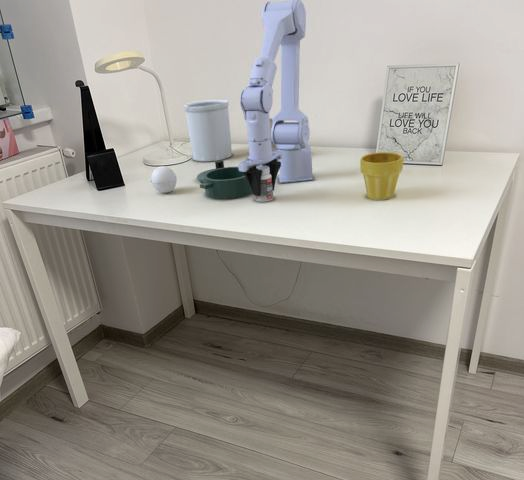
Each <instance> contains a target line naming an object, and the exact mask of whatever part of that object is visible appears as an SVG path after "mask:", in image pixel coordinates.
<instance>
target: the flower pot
mask: <svg viewBox="0 0 524 480" xmlns="http://www.w3.org/2000/svg"><path fill="white" fill-rule="evenodd" d="M359 163H360V165H359V167H360V168H359V169H360V173H361V174H362V176H363V181H364V185H365V191H366V196H367V198H368V199H370V200H373V201H384V200H389V199H392V198H393V197H394V195H395V192H396V189H397V185H398V181H399V178H400V177H399V176H400V174H401V173H402V171H403V167H404V156H403V154H400V153H398V152H393V151H380V152H379V151H378V152H372V153H368V154H365V155H363V156H361V158H360V161H359Z"/></svg>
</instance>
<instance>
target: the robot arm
mask: <svg viewBox="0 0 524 480" xmlns="http://www.w3.org/2000/svg"><path fill="white" fill-rule="evenodd" d="M261 21H262V27H263V30H264V33H263V38H262V45H261V51H260V55H259V57H257V58H255V59H254V63H253V65H252V69H251V72H250V75H249V76H250V77H249V80H248V83H247V86H246V87H245V88H244V89H242V91H241V93H240V100H239V103H240V108H241V111H242V114H243V119H244V121H246V131H247V139H248V140H247V141H248V151H249V155H248V156H247V158H246V159H244V160H242V161H241V162H239V163H237V167H239V171H241V172H242V173H243V174H244V175H245V177H246V178H247V180H248V182H249V184H250V187H251V190H252V192H253V193H252V196H254V197H255V196H260V195H261V175H262V170H258V168H256V167H257V166H269V169H270V173H269V174H271V176H272V190H273V192H274V191H275V187H276V181H277V178H278V182H279V183H280V184H285V183H295V182H305V181H306V182H307V181H313V180H314V179H313V178H314V177H313V155H312V148H311V145H307V144H308V143H309V140H310V135H311V131H310V126H309V125H310V124H309V117H308V116H307V115H306V114H305V113H304V112H303V111H302V110H301V109H300V108H299V106H300V64H301V63H300V61H301V59H300V58H301V55H300V54H301V52H300V51H301V40H303V39H304V38H306V27H307V25H306V24H307V11H306V8H305V4H304V2H303V1H302V0H282V1H280V0H279V1H272V2H271V1H266V2H265V3H264V4H263V7H262V10H261ZM279 50H280V51H281V52H280V54H281V55H280V110H279V111H278V112H277V113H276V114H275V115H274V116H273V117H272V120H273V123H272V129H271V133H270V119H271V118H270V111H272V107H273V104H274V103H273V101H274V100H273V99H274V98H273V96H274V89H273V85H274V81H275V77H276V73H277V69H278V68H277V67H278V66H277V64H276V62H275V60H276V58H277V56H278V55H277V54H278V52H279ZM283 121H284V122H283ZM289 121H291V122H289ZM292 121H293V122H292ZM271 140H272V142H273V144H274V145H276V148H277V149H278V150H277V151H273V152H272V147H271ZM277 159H279V161H277Z"/></svg>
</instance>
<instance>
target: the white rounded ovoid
mask: <svg viewBox="0 0 524 480" xmlns="http://www.w3.org/2000/svg"><path fill="white" fill-rule="evenodd" d="M177 181H178V180H177V174H176V173H175V172H174V170H173V169H172V168H171V167H169V166H165V165H162V166H158V167H156V168H154V170H153V171H152V173H151V176H150V183H151V185H152V187H153V188H154V189H155V190H156V191H157V192H159V193H161V194H167V193H170V192H172V191H173V190H174V189H175V188H176V185H177Z"/></svg>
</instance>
